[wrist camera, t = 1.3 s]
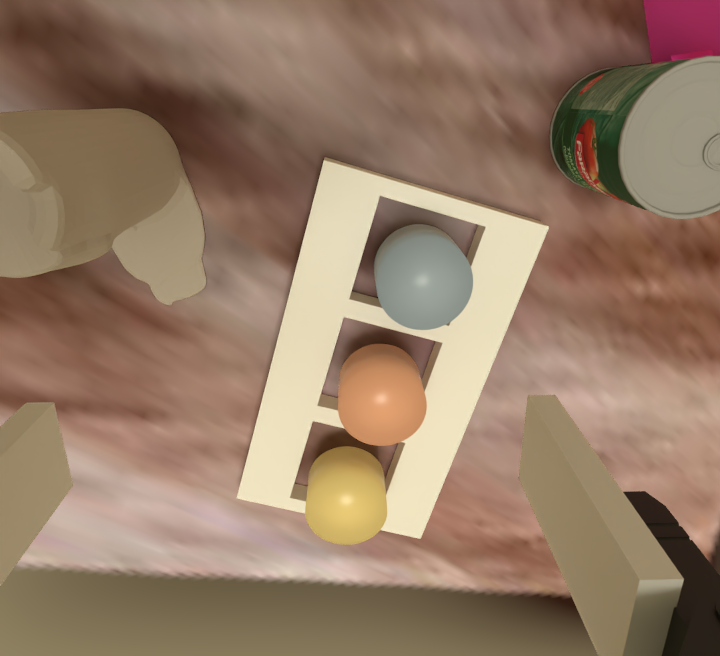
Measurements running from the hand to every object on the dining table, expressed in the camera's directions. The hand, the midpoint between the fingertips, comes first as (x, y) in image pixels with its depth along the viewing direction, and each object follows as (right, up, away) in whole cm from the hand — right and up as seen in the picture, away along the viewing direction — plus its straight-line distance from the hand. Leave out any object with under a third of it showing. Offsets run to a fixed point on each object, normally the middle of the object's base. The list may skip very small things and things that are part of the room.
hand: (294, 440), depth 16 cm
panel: (+3, 0, +29) cm, 29 cm away
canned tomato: (+19, +17, +23) cm, 34 cm away
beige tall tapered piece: (-13, +11, +25) cm, 30 cm away
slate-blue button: (+6, +7, +23) cm, 25 cm away
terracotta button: (+3, -1, +26) cm, 27 cm away
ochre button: (+1, -9, +29) cm, 31 cm away
